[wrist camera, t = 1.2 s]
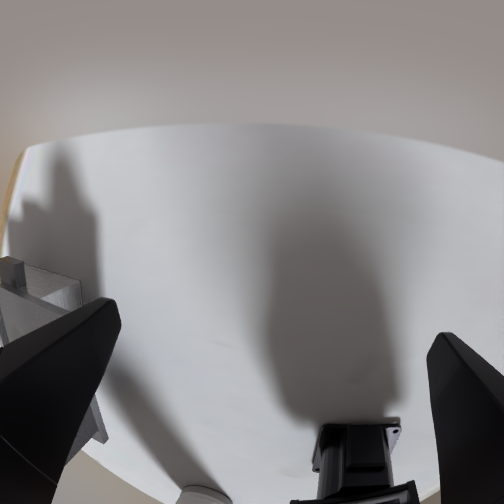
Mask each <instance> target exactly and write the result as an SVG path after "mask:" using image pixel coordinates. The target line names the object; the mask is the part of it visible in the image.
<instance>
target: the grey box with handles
mask: <svg viewBox="0 0 504 504" xmlns="http://www.w3.org/2000/svg"><path fill="white" fill-rule="evenodd" d="M2 282H4V283H6V284H8V285H10V286H12V287H14V288H17V289H19V290H21V291H23V292H26V293H28V294H30V295H32V296H35V297H37V298H39V299H42V300H44V301H47V302H49V303H51V304H54V305H56V306H59V307H61V308H64V309H67V310H69V311H74V310H76V309H78V308H80V307H82V306H83V303H82V295H81V285H80V281H79V280H76V279H72V278H69V277H65V276H62V275H59V274H55V273H52V272H49V271H46V270H43V269H39V268H36V267H33V266H30V265H27V264H24V261H21V260H18V259H15V258H12V257H9V256H6V257H3V258H0V283H2ZM8 343H9V339H8V335H7V332H6V328H5V324H4V320H3V316H2V311H1V307H0V345H1V347H4V345H6V344H8Z"/></svg>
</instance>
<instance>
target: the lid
mask: <svg viewBox="0 0 504 504" xmlns="http://www.w3.org/2000/svg"><path fill="white" fill-rule="evenodd" d="M0 307H1V311H2V316H3V320H4V324H5V328H6V332H7V335H8V339H9V343H10V342H12V341H14V340H16V339H18V338H20V337H22V336H24V335H26V334H28V333H30V332H32V331H34V330H35V329H37V328H39V327H41V326H43V325H45V324H47V323H49V322H51V321H54V320H56V319H58V318H60V317H62V316H64V315H66V314H68V313H70V312H72V311H69V310H67V309H64V308H61V307H59V306H56V305H54V304H51V303H49V302H47V301H44V300H42V299H39V298H37V297H35V296H32V295H30V294H28V293H26V292H23V291H21V290H19V289H17V288H14V287H12V286H10V285H8V284H6V283H4V282H2V283H0ZM91 438H93V439H95V440H97V441H98V442H100V443H102V444H105V443H106V441H107V440H108V439H109V438H108V435H107V432H106V429H105V426H104V423H103V419H102V416H101V413H100V410H99V406H98V403H97V399H96V395H94V397H93V399H92V401H91V403H90V406H89V408H88V410H87V412H86V415H85V417H84V419H83V422H82V424H81V426H80V429H79V431H78V433H77V436H76V438H75V441H74V443H73V446H72V448H71V451H70V453H69V456H68V458H67V461H66V463H65V465H66V464H67V463H68V462H69V461H70V460H71V459H72V458H73V457H74V456H75V455H76V453H77V452H78V451H79V450H80V449H81V448H82V447H83V446H84V445H85V444H86V443H87V442H88V441H89V440H90V439H91Z"/></svg>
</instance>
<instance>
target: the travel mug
mask: <svg viewBox="0 0 504 504" xmlns="http://www.w3.org/2000/svg"><path fill="white" fill-rule="evenodd" d="M176 504H232V502H231V501H230V500H229V499H228V498H227V497H226V496H224V495H223V494H221V493H219V492H217V491H215V490H212V489H209V488H206V487H201V486H188V487H185V488H184V489H183V491H182V492H181V494H180V497H179V498H178V500H177V502H176Z"/></svg>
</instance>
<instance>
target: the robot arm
mask: <svg viewBox="0 0 504 504" xmlns="http://www.w3.org/2000/svg"><path fill="white" fill-rule="evenodd" d="M120 330H121V319H120V315H119V312H118V308H117V304H116V302H115V300H113V299H110V298H105V297H101V298H99V299H96V300H94V301H92V302H90V303H88V304H86V305H84V306H82V307H80V308H78V309H76V310H74V311H72V312H70V313H68V314H66V315H64V316H62V317H60V318H58V319H56V320H54V321H51V322H49V323H47V324H45V325H43V326H41V327H39V328H37V329H35V330H34V331H32V332H30V333H28V334H26V335H24V336H22V337H20V338H18V339H16V340H14V341H12V342H10V343H8V344H6V345H4V347H0V504H51V503H52V500H53V497H54V494H55V491H56V488H57V484H58V482H59V479H60V477H61V474H62V471H63V469H64V466H65V463H66V461H67V458H68V456H69V453H70V451H71V448H72V446H73V443H74V441H75V438H76V436H77V433H78V431H79V429H80V426H81V424H82V422H83V419H84V417H85V415H86V412H87V410H88V408H89V406H90V403H91V401H92V399H93V397H94V395H95V392H96V390H97V388H98V386H99V384H100V382H101V380H102V377H103V375H104V373H105V371H106V368H107V365H108V363H109V360H110V357H111V354H112V351H113V349H114V346H115V343H116V341H117V338H118V335H119V333H120ZM426 361H427V370H428V379H429V390H430V402H431V410H432V417H433V423H434V430H435V437H436V444H437V453H438V463H439V474H440V490H441V504H504V376H503V375H502V374H501V373H500V372H499V371H497V370H496V369H495V368H494V367H493V366H492V365H491V364H489V363H488V362H487V361H486V360H485V359H483V358H482V357H481V356H480V355H479V354H478V353H476V352H475V351H474V350H473V349H472V348H470V347H469V346H468V345H467V344H466V343H464V342H463V341H462V340H461V339H459V338H458V337H457V336H456V335H455V334H453V333H451V332H441V333H439V334H438V335H437V336H436V338H435V340H434V342H433V344H432V346H431V348H430V350H429V352H428V354H427V360H426ZM327 429H329V430H327ZM395 429H396V430H395ZM401 430H402V429H401V425H399V424H379V425H347V424H325V425H323V426H322V428H321V433H320V438H319V442H318V446H317V451H316V455H315V459H314V463H313V468H312V471H313V472H316V473H319V482H318V491H317V499H315V500H303V501H299V500H291V501H290V504H420V502H419V497H418V493H417V489H416V485H415V481H414V480H412V481H409V482H407V483H405V484H402V485H398V486H394V481H393V473H392V465H391V457H390V455H391V453H392V451H393V449H394V446H395V444H396V442H397V440H398V438H399V435H400V433H401Z"/></svg>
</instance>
